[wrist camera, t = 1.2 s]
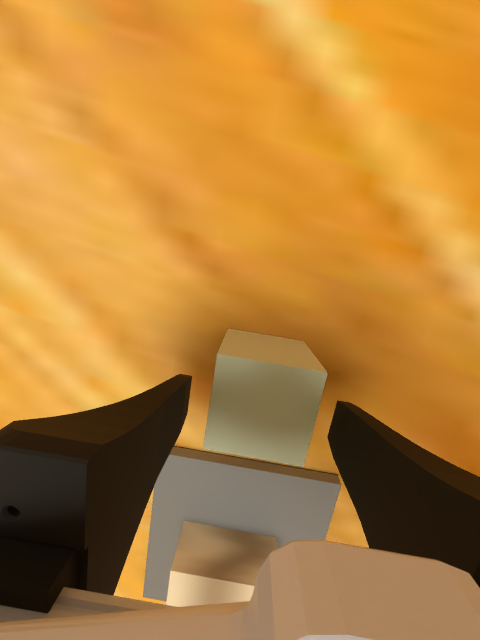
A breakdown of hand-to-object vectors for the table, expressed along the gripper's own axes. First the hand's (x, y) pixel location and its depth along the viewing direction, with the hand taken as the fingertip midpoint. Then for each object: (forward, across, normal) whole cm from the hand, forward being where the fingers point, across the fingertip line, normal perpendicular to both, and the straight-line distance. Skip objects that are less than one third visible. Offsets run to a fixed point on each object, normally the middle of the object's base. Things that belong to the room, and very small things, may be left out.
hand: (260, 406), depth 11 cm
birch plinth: (+4, 0, +16) cm, 17 cm away
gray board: (+4, -1, +14) cm, 15 cm away
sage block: (+5, 0, 0) cm, 5 cm away
